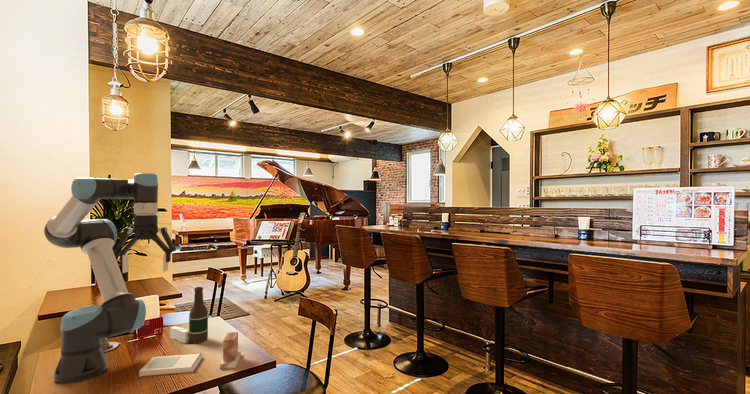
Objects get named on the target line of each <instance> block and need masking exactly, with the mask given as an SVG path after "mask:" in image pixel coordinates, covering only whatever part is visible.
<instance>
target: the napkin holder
mask: <svg viewBox="0 0 750 394" xmlns="http://www.w3.org/2000/svg"><path fill="white" fill-rule="evenodd" d="M169 339H170V340H171V339H172V340H175V341H177V342H178V343H182V342H183V344H186V343H190V342H189V329H186V328H184V327H182V326H181V327H180V326H175V325H174V326H172V327H170V328H169Z"/></svg>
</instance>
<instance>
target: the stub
mask: <svg viewBox="0 0 750 394" xmlns="http://www.w3.org/2000/svg"><path fill="white" fill-rule="evenodd" d="M241 353H242V351H241V349H239V332H238V331H234V332H227V333H226V335H225V336H224V338H223V340H222V354H223V355H222V359H221V361H220V362H219V369H220V370H228V369H229V370H230V369H236V367H237V364H238V362H239V361H240V357H241Z"/></svg>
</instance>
